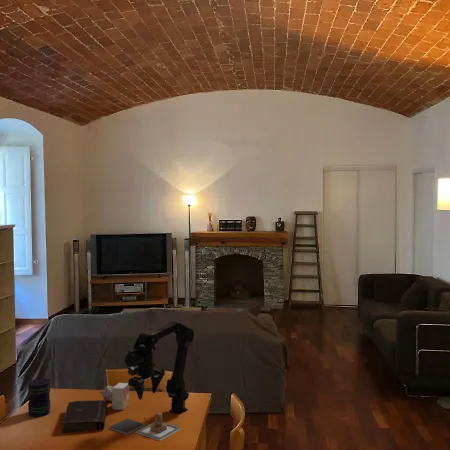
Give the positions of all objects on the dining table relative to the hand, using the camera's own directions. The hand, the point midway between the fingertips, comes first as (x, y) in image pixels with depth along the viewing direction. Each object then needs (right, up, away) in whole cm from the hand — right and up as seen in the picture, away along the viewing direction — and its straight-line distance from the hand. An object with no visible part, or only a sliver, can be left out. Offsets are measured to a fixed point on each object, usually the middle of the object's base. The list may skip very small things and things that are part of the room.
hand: (147, 396), depth 233 cm
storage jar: (-53, -13, +14) cm, 56 cm away
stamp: (+6, -13, -6) cm, 15 cm away
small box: (-16, -12, +21) cm, 29 cm away
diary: (-29, -13, +6) cm, 33 cm away
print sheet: (+6, -13, -6) cm, 15 cm away
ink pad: (-9, -13, -2) cm, 16 cm away
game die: (-23, -12, +29) cm, 38 cm away
